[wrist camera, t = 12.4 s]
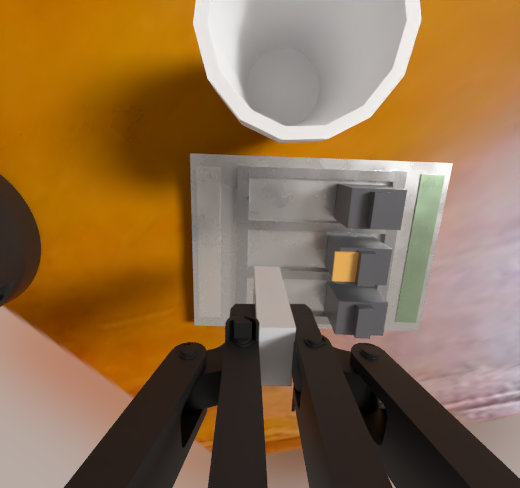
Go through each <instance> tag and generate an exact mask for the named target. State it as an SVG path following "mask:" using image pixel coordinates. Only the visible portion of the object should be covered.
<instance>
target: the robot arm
mask: <svg viewBox="0 0 520 488" xmlns="http://www.w3.org/2000/svg"><path fill="white" fill-rule="evenodd" d="M40 255H41V243H40V236H39V231H38V228H37V225H36V222H35V219H34V217H33V215H32V213H31V211H30V209H29V207H28V205H27V204H26V202H25V201H24V199H23V198H22V196H21V195H20V194H19V193H18V191H17V190H16V189H15V188H14V187H13V186H12V185H11V184H10V183H9V182H8V181H7V180H6V179H5V178H4V177H3V176H2V175H0V307H1V306H2V305H4V304H6V303H8V302H9V301H11V300H13V299H14V298H16V297H17V296H19V295H20V294H21V293H22V292H24V291H25V290H26V288H27V287H28V286H29V285H30V284H31V282H32V280H33V279H34V277H35V275H36V272H37V270H38V266H39V262H40ZM292 378H293V383H294V388H293V400H292V411H294V410H296V416H297V421H298V427H299V432H300V438H301V443H302V449H303V454H304V460H305V465H306V471H307V476H308V482H309V488H392V485H391V483H390V480H391V481H392V483H393V484H394V486H395V487H396V488H520V478H518V477H517V476H516V475H515V474H514V473H513V472H512V471H511V470H510V469H509V468H508V467H507V466H506V465H505V464H504V463H503V462H502V461H500V460H499V459H498V458H497V457H496V456H495V455H494V454H493V453H492V452H491V451H490V450H489V449H487V448H486V446H485V445H483V444H482V443H481V442H480V441H479V440H478V439H477V438H476V437H475V436H474V435H473V434H472V433H471V432H470V431H468V430H467V429H466V428H465V427H464V426H463V425H462V424H461V423H460V422H459V421H458V420H457V419H456V418H455V417H454V416H453V415H452V414H451V413H449V412H448V411H447V410H446V409H445V408H444V407H443V406H442V405H441V404H440V403H439V402H438V401H437V400H436V399H435V398H434V397H432V396H431V395H430V394H429V393H428V392H427V391H426V390H425V389H424V388H423V387H422V386H421V385H420V384H419V383H418V382H417V381H415V380H414V379H413V378H412V377H411V376H410V375H409V374H408V373H407V372H406V371H405V370H404V369H403V368H402V367H401V366H400V365H399V364H397V363H396V362H395V361H394V360H393V359H392V358H391V357H390V356H389V355H388V354H387V353H386V352H385V351H384V350H382V349H381V348H379V347H377V346H375V345H373V344H368V343H358V344H355V345H354V346H353V347H352V348H351V352H350V351H345V350H341V349H337V348H334V347H332V345H331V343H330V341H329V340H328V339H327V338H326V337H325V336H323V335H321V333H320V330H319V328H318V325H317V323H316V321H315V318H314V316H313V313H312V310H311V309H310V308H309V307H308V306H307V305H306V304H289V300H288V297H287V293H286V289H285V286H284V282H283V278H282V275H281V271H280V267H268V266H254V288H253V304H234V306H233V307H232V308H231V309H230V318H228V319H227V321H226V323H225V343H224V344H223V345H221V346H220V347H218V348H215V349H211V350H207V351H206V349H205V347H204V346H203V345H201V344H199V343H196V342H188V343H183V344H180V345H178V346H176V347H175V348H174V349H173V350H172V351H171V352H170V353H169V354H168V356H167V357H166V358H165V359H164V361H163V362H162V363H161V365H160V366H159V367H158V368H157V370H156V371H155V372H154V373H153V375H152V376H151V377H150V379H149V380H148V381H147V382H146V384H145V385H144V386H143V387H142V389H141V390H140V391H139V393H138V394H137V395H136V396H135V398H134V399H133V400H132V401H131V403H130V404H129V405H128V407H127V408H126V409H125V410H124V412H123V413H122V414H121V416H120V417H119V418H118V420H117V421H116V422H115V423H114V424H113V426H112V427H111V428H110V429H109V431H108V432H107V433H106V435H105V436H104V437H103V438H102V440H101V441H100V442H99V443H98V445H97V446H96V447H95V449H94V450H93V451H92V453H91V454H90V455H89V456H88V458H87V459H86V460H85V461H84V463H83V464H82V465H81V466H80V468H79V469H78V470H77V472H76V473H75V474H74V475H73V477H72V478H71V479H70V480H69V482H68V483H67V484H66V486H65V487H64V488H172V487H173V485H174V483H175V481H176V479H177V476H178V474H179V472H180V470H181V468H182V465H183V463H184V461H185V459H186V457H187V454H188V452H189V450H190V448H191V445H192V443H193V441H194V439H195V437H196V435H197V433H198V430H199V428H200V426H201V424H202V422H203V419H204V417H205V415H206V413H207V408H209V407H212V406H216V405H218V407H217V416H216V424H215V432H214V441H213V449H212V458H211V466H210V475H209V483H208V488H267V471H266V454H265V437H264V420H263V403H262V386H291V384H292ZM380 401H381V402H382V403H383V404H382V403H381V402H380ZM387 475H388V476H387ZM388 477H389V478H390V480H389V478H388Z"/></svg>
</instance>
